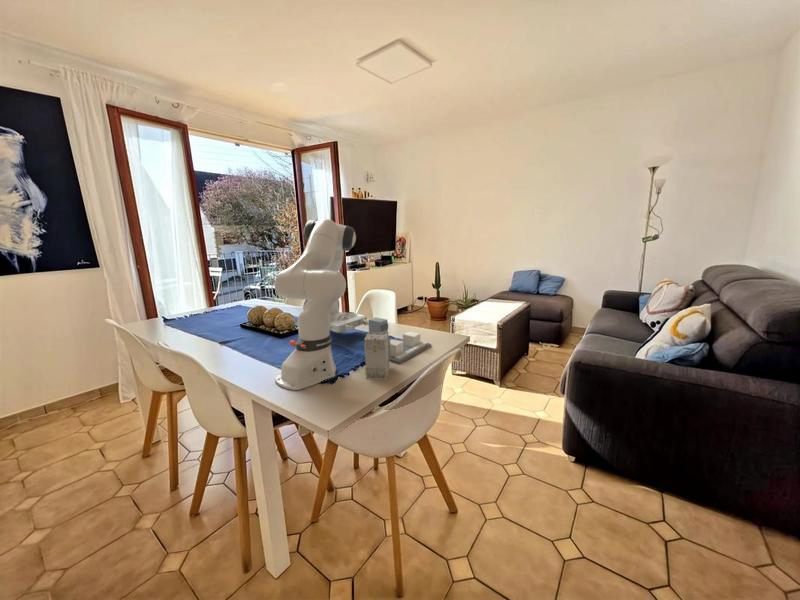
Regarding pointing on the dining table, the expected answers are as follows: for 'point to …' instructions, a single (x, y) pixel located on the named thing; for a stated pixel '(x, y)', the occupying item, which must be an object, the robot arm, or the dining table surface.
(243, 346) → the dining table surface
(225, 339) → the dining table surface
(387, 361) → the circuit breaker
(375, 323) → the block
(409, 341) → the rail plate
